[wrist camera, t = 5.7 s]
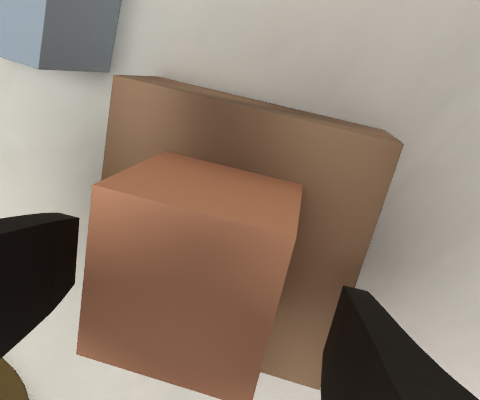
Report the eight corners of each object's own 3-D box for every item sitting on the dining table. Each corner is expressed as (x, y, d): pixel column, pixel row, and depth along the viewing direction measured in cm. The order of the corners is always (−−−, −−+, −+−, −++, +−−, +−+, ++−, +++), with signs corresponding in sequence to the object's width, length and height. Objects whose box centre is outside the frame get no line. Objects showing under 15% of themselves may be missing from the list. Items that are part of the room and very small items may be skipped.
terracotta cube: (303, 184, 13) (296, 237, 8) (270, 308, 14) (250, 408, 10) (164, 150, 13) (92, 185, 9) (146, 273, 14) (76, 354, 10)
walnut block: (382, 129, 16) (403, 143, 12) (318, 326, 18) (319, 390, 15) (159, 76, 17) (113, 75, 13) (130, 272, 19) (85, 318, 16)
